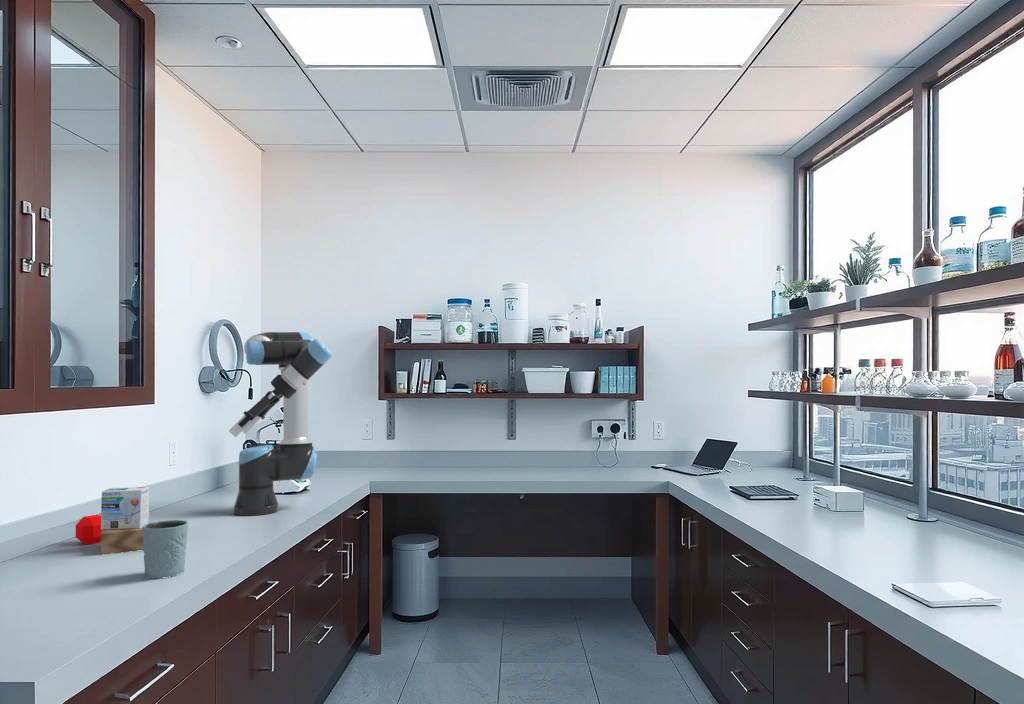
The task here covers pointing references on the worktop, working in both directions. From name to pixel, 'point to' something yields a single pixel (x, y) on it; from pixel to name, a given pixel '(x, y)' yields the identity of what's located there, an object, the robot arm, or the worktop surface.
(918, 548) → the worktop surface
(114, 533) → the walnut block
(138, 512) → the light bulb box
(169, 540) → the grey green embossed cup
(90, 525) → the ball
